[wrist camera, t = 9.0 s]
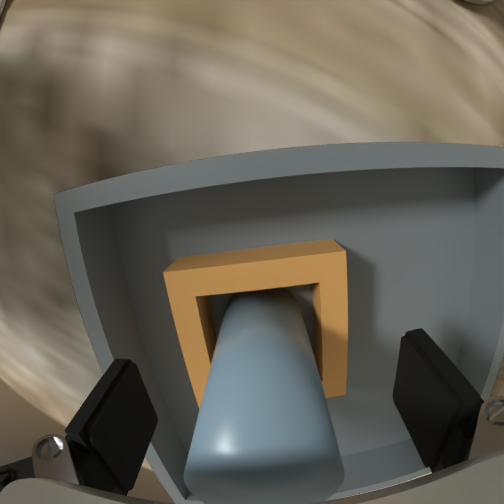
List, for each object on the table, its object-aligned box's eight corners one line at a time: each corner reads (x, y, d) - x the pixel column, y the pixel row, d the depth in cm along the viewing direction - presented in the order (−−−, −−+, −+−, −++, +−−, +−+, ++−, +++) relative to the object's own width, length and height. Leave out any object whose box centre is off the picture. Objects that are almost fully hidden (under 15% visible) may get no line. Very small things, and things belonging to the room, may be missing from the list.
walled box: (473, 151, 14) (522, 149, 9) (439, 425, 19) (459, 459, 14) (101, 188, 15) (53, 194, 11) (185, 463, 20) (176, 504, 16)
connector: (298, 278, 15) (351, 430, 5) (303, 346, 16) (338, 507, 6) (218, 287, 15) (162, 442, 5) (230, 354, 16) (204, 516, 6)
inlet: (332, 238, 14) (345, 250, 12) (336, 367, 16) (345, 394, 14) (178, 257, 15) (163, 272, 12) (206, 381, 16) (199, 408, 14)
